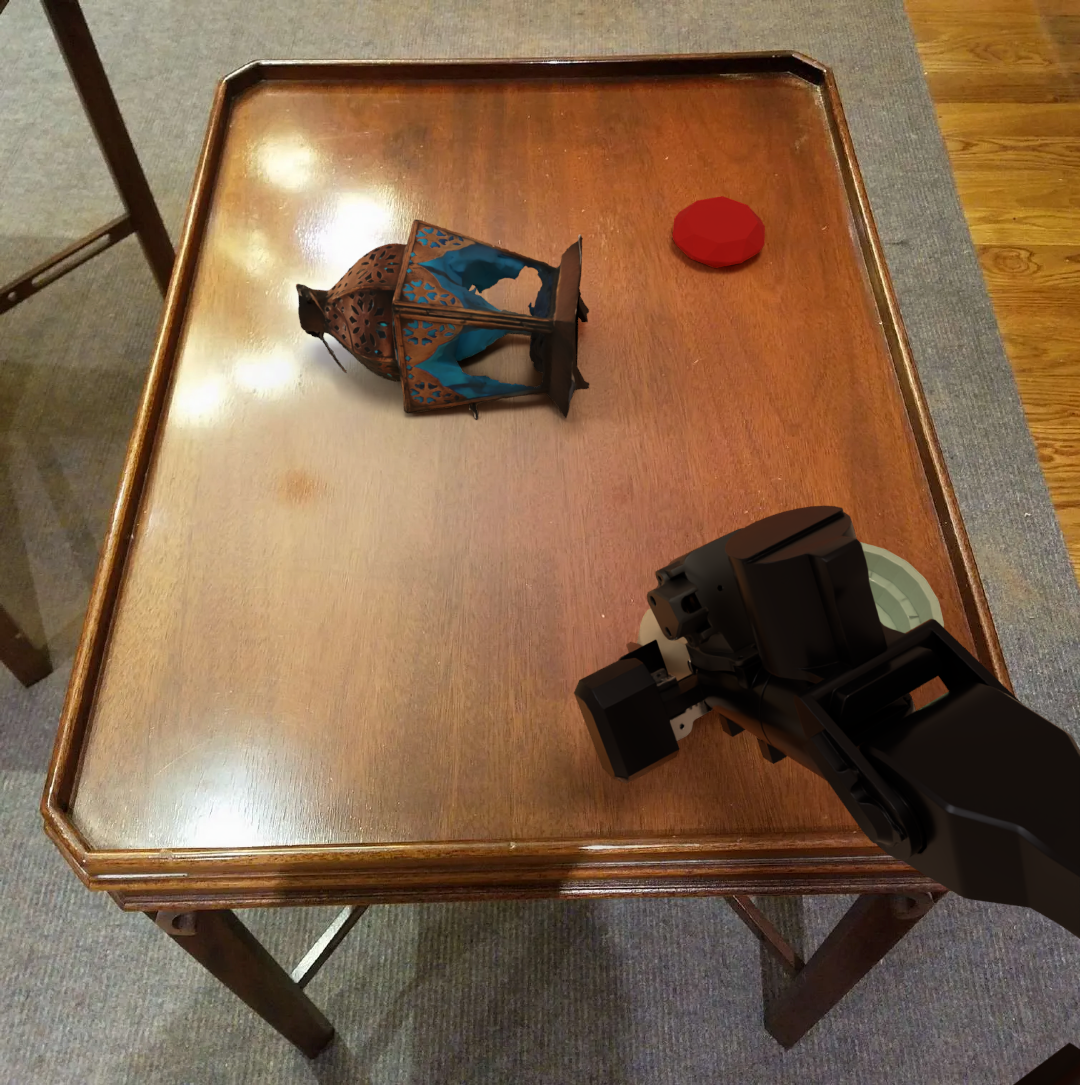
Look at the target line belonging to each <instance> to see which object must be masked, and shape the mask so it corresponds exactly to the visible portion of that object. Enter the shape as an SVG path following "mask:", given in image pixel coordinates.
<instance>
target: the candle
mask: <svg viewBox="0 0 1080 1085" xmlns="http://www.w3.org/2000/svg"><path fill="white" fill-rule="evenodd" d="M655 639H656V640H657V642H658V645H659V648H660V651H661V654H662V657H663V660H664V662H665V665H666V668H667V671H668V674H672V675H674V676H675V677H676V679H677V681H678V680H680V679H682V678H684V677H686V676H688V675H689V674H691V672H690V670H689V667H688V664H687V661H688V659H689V658H690V657H689V654H688V651H687V648H686V645H685V644H686V643H688V642H687V640H686V639H685V638H684V637H682V638H680V639H678V640H673V641H671V640H668V639H667V638H666V637H665V636H664V634H663V633H662V631H661V628H660V626H659V624H658V622H657V620H656V618H655V616H654V614H653V612H652V610H651V608H650V607H649V608H648V609H647V610H646V611H645V613H644V614H643V616H642V618H641V621H640V625H639V628H638V635H637V640H636V643H638V644H640V645H642V646H643V645H645V644H647V643H649V642H651V641H653V640H655Z"/></svg>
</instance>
